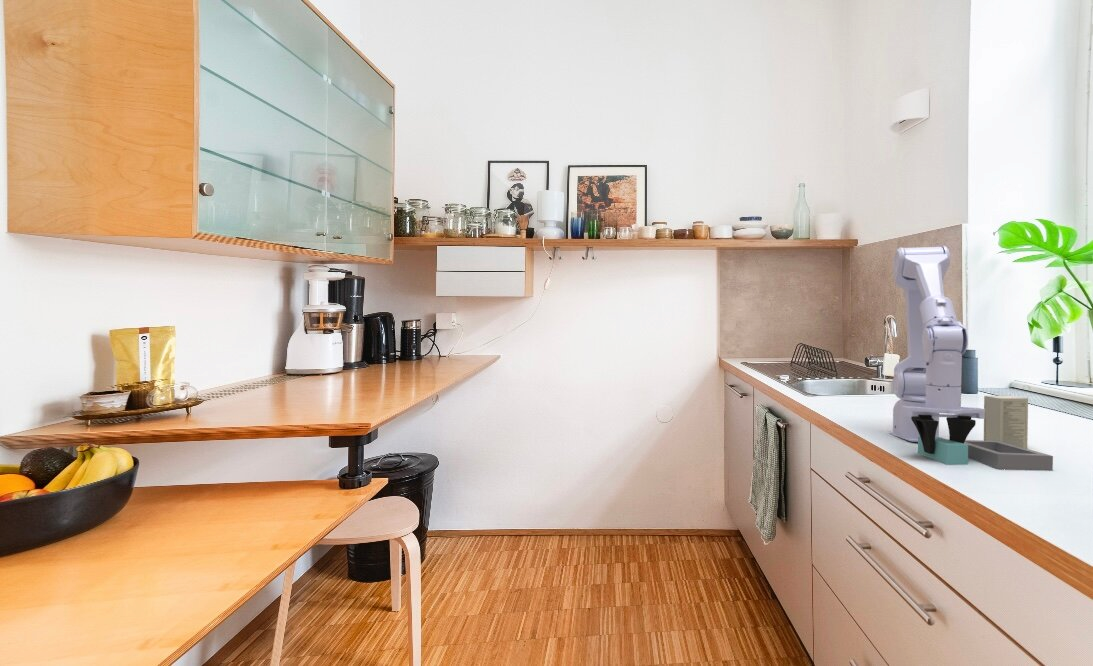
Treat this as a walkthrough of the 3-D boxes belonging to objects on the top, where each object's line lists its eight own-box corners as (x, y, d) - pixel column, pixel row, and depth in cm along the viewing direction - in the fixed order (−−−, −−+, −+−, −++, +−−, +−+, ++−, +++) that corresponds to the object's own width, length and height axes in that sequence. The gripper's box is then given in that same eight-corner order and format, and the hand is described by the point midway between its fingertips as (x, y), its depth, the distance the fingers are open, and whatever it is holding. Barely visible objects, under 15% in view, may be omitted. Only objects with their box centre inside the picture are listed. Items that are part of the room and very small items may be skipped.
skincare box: (1010, 450, 118) (1011, 395, 118) (1028, 455, 113) (1029, 397, 113) (981, 450, 118) (982, 394, 118) (999, 455, 113) (1000, 397, 113)
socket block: (950, 453, 114) (950, 439, 114) (998, 455, 113) (998, 441, 113) (997, 470, 101) (998, 454, 101) (1052, 472, 100) (1052, 455, 100)
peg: (917, 455, 112) (918, 436, 112) (936, 455, 112) (936, 436, 112) (947, 465, 104) (947, 444, 104) (967, 465, 104) (968, 444, 104)
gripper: (916, 386, 104) (915, 456, 104) (996, 388, 103) (995, 459, 103) (896, 383, 111) (895, 448, 112) (971, 384, 110) (970, 451, 110)
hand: (941, 453), depth 108 cm, fingers closed on peg, 4 cm apart
